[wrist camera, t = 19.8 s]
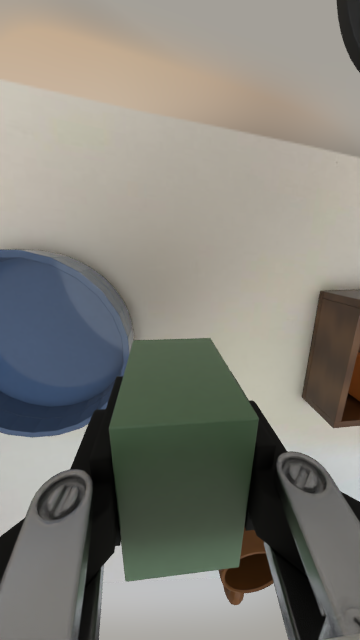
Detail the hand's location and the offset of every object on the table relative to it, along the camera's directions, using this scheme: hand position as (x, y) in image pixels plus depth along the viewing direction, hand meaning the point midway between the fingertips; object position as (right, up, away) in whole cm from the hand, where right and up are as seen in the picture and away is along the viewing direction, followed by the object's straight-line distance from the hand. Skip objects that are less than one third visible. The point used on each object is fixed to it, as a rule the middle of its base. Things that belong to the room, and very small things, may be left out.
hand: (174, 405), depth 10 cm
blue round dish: (-14, +2, +15) cm, 20 cm away
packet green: (0, 0, +1) cm, 1 cm away
